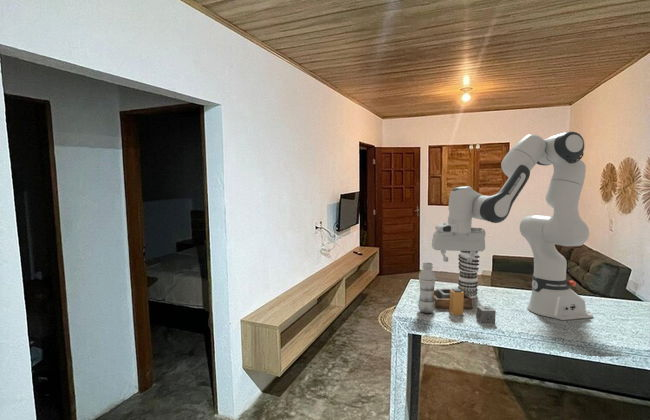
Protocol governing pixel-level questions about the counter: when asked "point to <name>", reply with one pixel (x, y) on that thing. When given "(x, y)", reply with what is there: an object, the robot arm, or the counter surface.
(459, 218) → the robot arm
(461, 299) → the block
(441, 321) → the counter surface
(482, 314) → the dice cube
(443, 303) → the walled box
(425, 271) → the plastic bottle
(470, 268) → the decorative candle
